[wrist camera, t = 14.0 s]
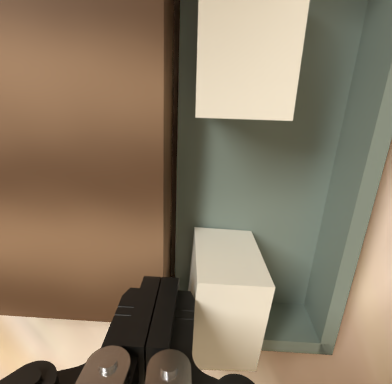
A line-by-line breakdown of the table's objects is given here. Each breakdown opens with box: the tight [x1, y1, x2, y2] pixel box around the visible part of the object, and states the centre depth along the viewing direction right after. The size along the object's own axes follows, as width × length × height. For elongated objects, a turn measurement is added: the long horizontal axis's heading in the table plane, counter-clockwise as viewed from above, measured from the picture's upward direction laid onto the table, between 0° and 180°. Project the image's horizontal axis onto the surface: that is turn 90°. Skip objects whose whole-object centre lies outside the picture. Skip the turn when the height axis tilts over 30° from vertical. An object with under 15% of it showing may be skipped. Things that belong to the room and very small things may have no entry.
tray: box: [175, 0, 392, 355], centre depth 13 cm, size 18×8×3 cm, turn 178°
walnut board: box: [0, 0, 174, 322], centre depth 13 cm, size 16×10×3 cm, turn 178°
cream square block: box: [188, 227, 275, 372], centre depth 14 cm, size 4×4×3 cm
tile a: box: [195, 0, 310, 121], centre depth 10 cm, size 4×4×3 cm
